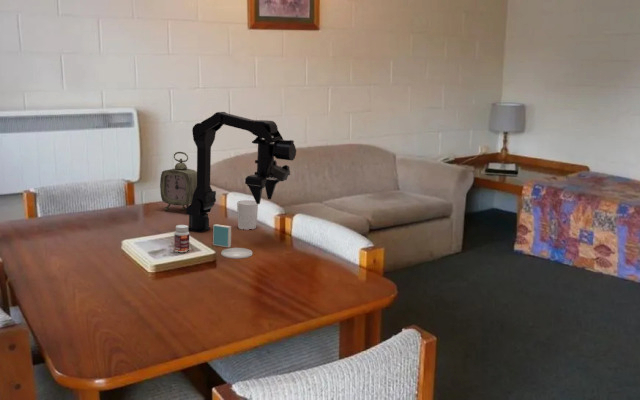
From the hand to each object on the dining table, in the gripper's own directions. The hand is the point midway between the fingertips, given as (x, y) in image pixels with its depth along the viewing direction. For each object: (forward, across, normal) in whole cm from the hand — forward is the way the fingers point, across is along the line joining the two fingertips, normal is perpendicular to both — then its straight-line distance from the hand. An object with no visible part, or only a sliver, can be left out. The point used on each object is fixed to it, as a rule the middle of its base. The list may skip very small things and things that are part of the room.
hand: (263, 201), depth 212 cm
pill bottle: (+14, -25, +17) cm, 33 cm away
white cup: (+14, +13, +13) cm, 23 cm away
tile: (+14, -13, +9) cm, 21 cm away
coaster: (+14, -19, 0) cm, 24 cm away
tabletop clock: (+15, +23, +49) cm, 56 cm away
